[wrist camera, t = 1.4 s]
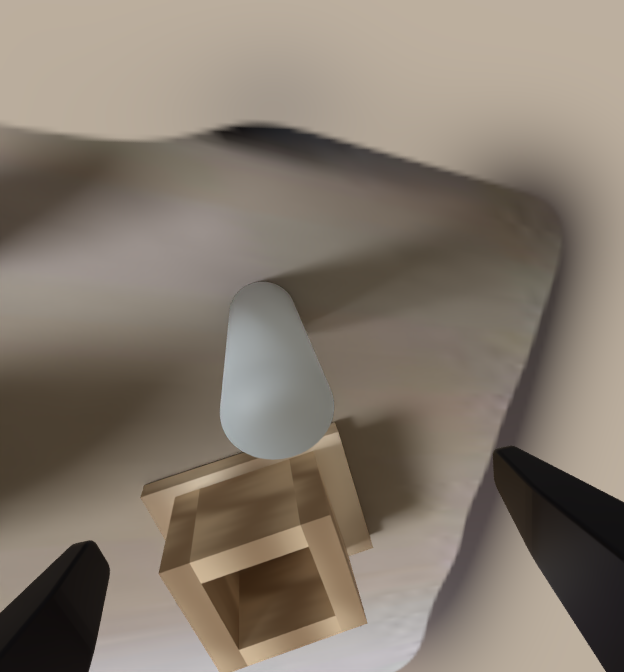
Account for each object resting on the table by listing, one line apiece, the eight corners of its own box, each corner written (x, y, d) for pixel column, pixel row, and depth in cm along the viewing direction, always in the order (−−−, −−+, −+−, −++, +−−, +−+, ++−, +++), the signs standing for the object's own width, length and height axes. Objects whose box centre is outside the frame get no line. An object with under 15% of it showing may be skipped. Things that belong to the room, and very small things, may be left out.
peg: (242, 352, 22) (242, 473, 13) (219, 293, 21) (202, 381, 12) (302, 332, 22) (345, 439, 13) (284, 273, 21) (317, 344, 12)
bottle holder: (205, 592, 28) (196, 693, 22) (144, 485, 24) (115, 575, 19) (368, 535, 29) (399, 620, 23) (334, 422, 25) (361, 491, 19)
